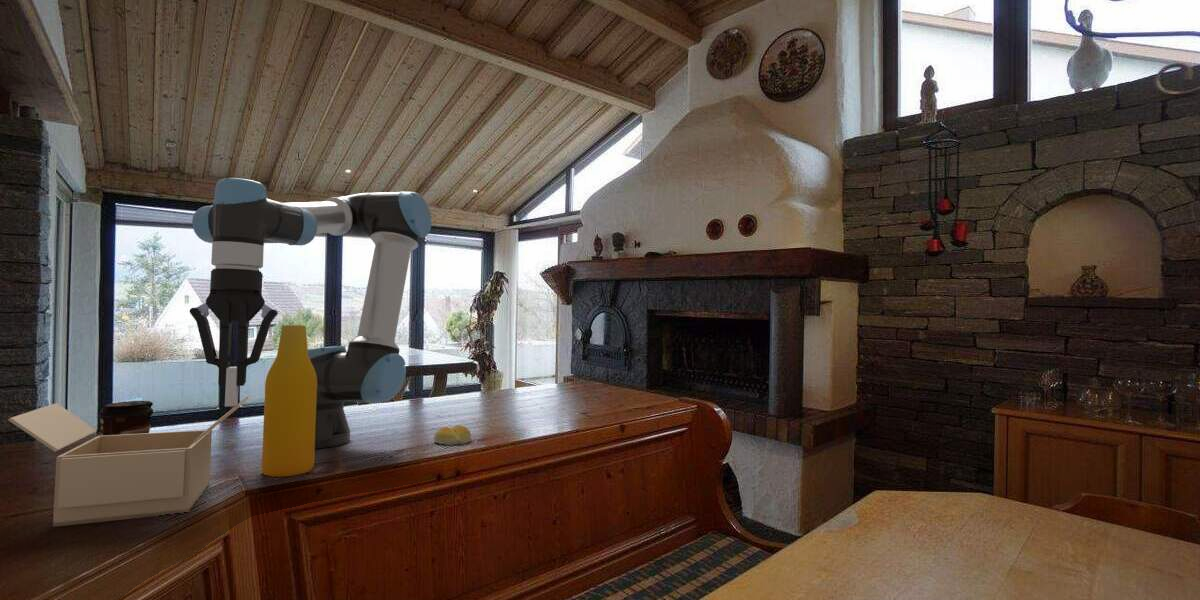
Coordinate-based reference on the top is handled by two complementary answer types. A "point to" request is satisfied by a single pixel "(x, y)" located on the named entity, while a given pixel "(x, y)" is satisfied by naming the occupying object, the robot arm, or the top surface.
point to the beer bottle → (290, 408)
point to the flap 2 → (220, 420)
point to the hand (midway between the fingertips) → (231, 405)
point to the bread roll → (452, 435)
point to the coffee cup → (126, 418)
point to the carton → (131, 477)
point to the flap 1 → (53, 426)
